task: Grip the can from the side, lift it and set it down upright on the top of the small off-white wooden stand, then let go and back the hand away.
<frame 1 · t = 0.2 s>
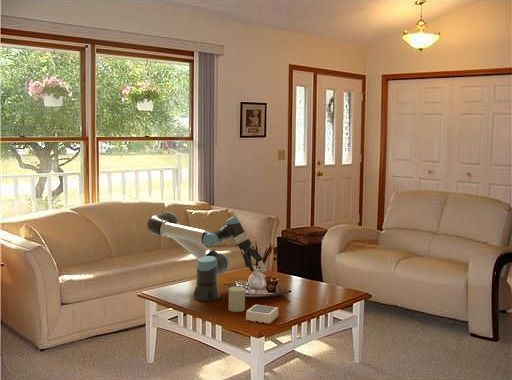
hand: (260, 273, 361), 15 cm above the table, tool tilted 35°, fingers open, 13 cm apart
can: (236, 309, 342), on the table
stand: (262, 318, 328), on the table
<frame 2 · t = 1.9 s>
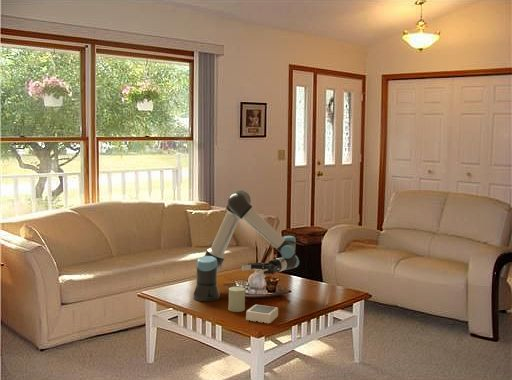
hand: (250, 271, 346), 20 cm above the table, tool horizontal, fingers open, 13 cm apart
nothing on the table moved.
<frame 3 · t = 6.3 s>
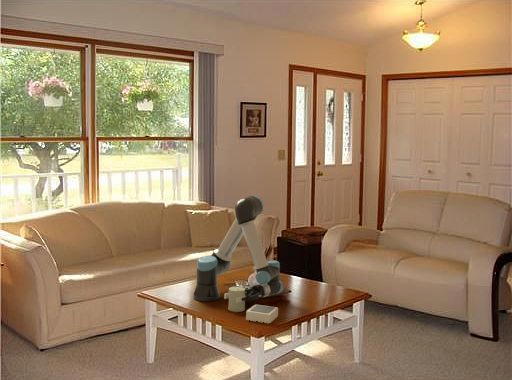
hand: (230, 298, 338), 7 cm above the table, tool horizontal, fingers closed on can, 9 cm apart
can: (236, 309, 342), on the table, touching gripper
when the fingers open (13 cm above the table, at t = 10.9 s): can drops 1 cm, resting on stand.
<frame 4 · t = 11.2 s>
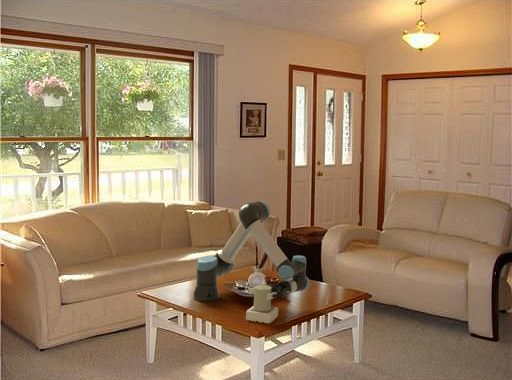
hand: (258, 294, 324), 13 cm above the table, tool horizontal, fingers open, 13 cm apart
can: (262, 309, 327), point 5 cm above the table, touching stand
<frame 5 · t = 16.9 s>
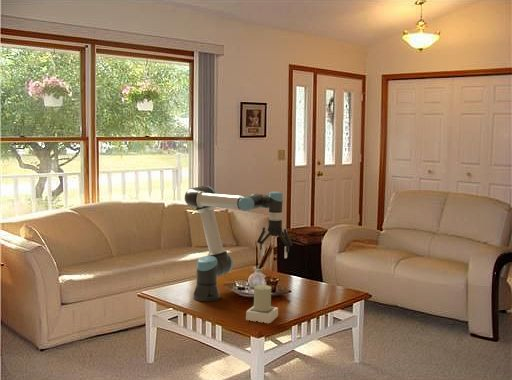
hand: (274, 256, 352), 27 cm above the table, tool pointing down, fingers open, 13 cm apart
nothing on the table moved.
at the end: can inside the target area on the stand (0.3 cm from its centre), point 4.8 cm above the stand's base; can tilted 0°; the gripper is holding nothing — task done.
